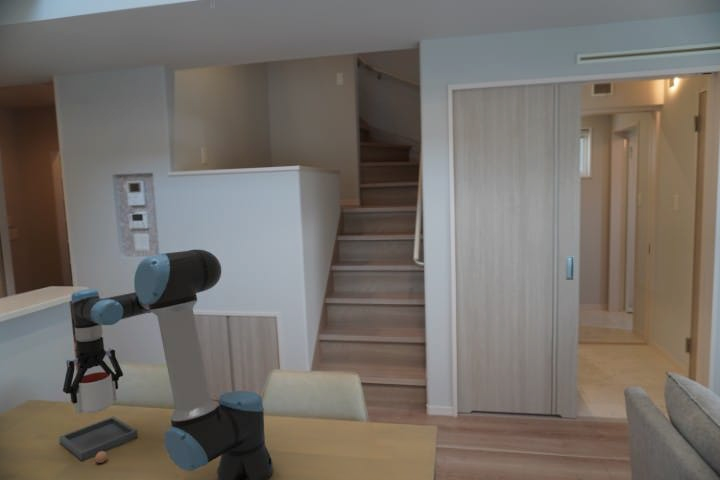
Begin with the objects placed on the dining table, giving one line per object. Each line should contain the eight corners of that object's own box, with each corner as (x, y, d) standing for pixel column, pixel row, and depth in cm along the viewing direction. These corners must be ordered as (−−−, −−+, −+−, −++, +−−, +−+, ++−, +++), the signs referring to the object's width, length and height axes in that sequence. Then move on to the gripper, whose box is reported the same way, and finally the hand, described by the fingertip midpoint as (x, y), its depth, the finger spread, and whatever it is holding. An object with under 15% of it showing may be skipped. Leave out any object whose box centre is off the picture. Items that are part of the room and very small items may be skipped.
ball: (109, 461, 144) (108, 451, 143) (98, 466, 141) (97, 456, 141) (105, 457, 146) (104, 447, 145) (93, 462, 143) (92, 452, 143)
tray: (137, 437, 157) (136, 430, 157) (81, 461, 144) (80, 453, 144) (114, 422, 168) (113, 416, 168) (60, 443, 155) (59, 436, 155)
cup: (98, 415, 149) (95, 384, 148) (71, 413, 151) (67, 383, 150) (121, 401, 159) (118, 372, 158) (94, 400, 161) (91, 371, 160)
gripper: (120, 327, 164) (126, 391, 166) (44, 346, 146) (52, 416, 148) (130, 330, 159) (137, 395, 161) (53, 350, 141) (62, 422, 144)
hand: (96, 405), depth 155 cm, fingers closed on cup, 10 cm apart
